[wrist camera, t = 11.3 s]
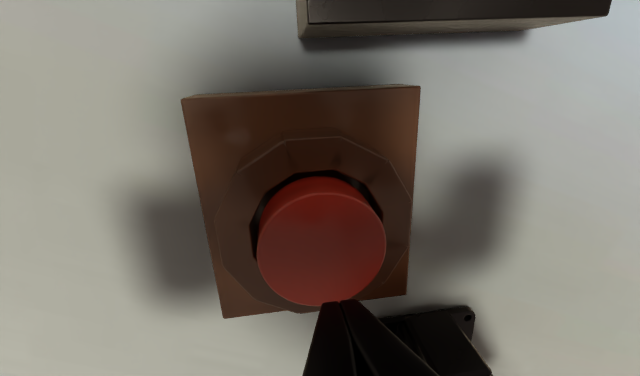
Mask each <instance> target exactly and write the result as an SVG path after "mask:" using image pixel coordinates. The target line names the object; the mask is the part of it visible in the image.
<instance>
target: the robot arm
mask: <svg viewBox="0 0 640 376" xmlns="http://www.w3.org/2000/svg"><path fill="white" fill-rule="evenodd" d="M474 322H475V313H474V312H473V311H472V310H471V308H469V307H460V308H453V309H446V310H438V311H431V312H424V313H417V314H410V315H403V316H395V317H388V318H381V319H377V318H376V317H375V316H374V315H373V314H372V313H371V312H370V311H369V310H368V309H367V308H365V307H364V306H363V305H362V304H361V303H360V302H359V301H358V300H357V299H346V300H341V301H340V302H338V301H331V302H324V303H322V305H321V308H320V312H319V316H318V320H317V323H316V327H315V331H314V334H313V338H312V342H311V346H310V349H309V353H308V357H307V361H306V364H305V368H304V372H303V376H493V375H492V371H491V369H490V368H489V366H488V365H487V364H486V362H485V361H484V359H483V358H482V357H481V355H480V354H479V353H478V351H477V350H476V348H475V347H474V346H473V344H472V343H471V340H472V334H473V328H474Z"/></svg>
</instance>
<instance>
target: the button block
mask: <svg viewBox="0 0 640 376" xmlns="http://www.w3.org/2000/svg"><path fill="white" fill-rule="evenodd" d="M420 89H421V88H420V86H415V85H404V84H390V85H370V86H351V87H332V88H313V89H293V90H274V91H255V92H236V93H217V94H197V95H193V96H189V97H186V98H182V99H181V105H182V110H183V115H184V120H185V125H186V130H187V135H188V140H189V146H190V151H191V156H192V161H193V166H194V171H195V176H196V181H197V187H198V192H199V197H200V202H201V207H202V212H203V217H204V223H205V228H206V233H207V238H208V243H209V248H210V253H211V258H212V264H213V269H214V274H215V279H216V284H217V289H218V294H219V299H220V305H221V310H222V315H223V318H224V319H226V318H234V317H241V316H249V315H256V314H264V313H272V312H279V311H287V310H288V311H291V312H294V313H300V314H302V313H309V312H317V311H320V308H321V306H307V305H301V304H297V303H294V302H291V301H289V300H287V299H285V298H283V297H281V296H280V295H278V294H277V293H276V292H275V291H274V290H272V289H271V288H270V286H269V285H268V284H267V283H266V281H265V280H264V278H263V276H262V275H261V272H260V270H259V267H258V262H257V242H258V233H259V223H260V219H261V215H262V213H263V210H264V208H265V207H266V205H267V203H268V202H269V200H270V199H271V198H272V197H273V196H274V195H275V194H276V193H277V192H278V191H279V190H280V189H282V188H283V187H284V186H286V185H288V184H290V183H291V182H294V181H296V180H299V179H302V178H306V177H312V176H327V177H333V178H337V179H340V180H343V181H345V182H347V183H349V184H351V185H352V186H353V187H355V188H356V189H357V190H358V191H359V192H360V193H361V194H362V195H363V196H364V198H365V199H366V200H367V202H368V203H369V204H370V206H371V207H372V209H373V210H374V211H375V213H376V214H377V216H378V217H379V219H380V221H381V222H382V225H383V227H384V230H385V235H386V253H385V257H384V261H383V263H382V266H381V268H380V270H379V272H378V274H377V275H376V276H375V278H374V279H373V280H372V281H371V283H370V284H369V285H368V286H367V287H365V288H364V289H363V290H362V291H361V292H359V293H358V294H356V295H355V296H353V297H351V298H349V299H357V300H358V301H363V300H370V299H378V298H385V297H393V296H401V295H406V292H407V277H408V263H409V248H410V234H411V219H412V205H413V190H414V176H415V162H416V147H417V133H418V118H419V104H420Z"/></svg>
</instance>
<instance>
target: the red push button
mask: <svg viewBox="0 0 640 376" xmlns="http://www.w3.org/2000/svg"><path fill="white" fill-rule="evenodd" d="M385 253H386V235H385V230H384V227H383V225H382V222H381V221H380V219H379V217H378V216H377V214H376V213H375V211H374V210H373V209H372V207H371V206H370V204H369V203H368V202H367V200H366V199H365V198H364V196H363V195H362V194H361V193H360V192H359V191H358V190H357V189H356V188H355V187H353V186H352V185H351V184H349V183H347V182H345V181H343V180H340V179H337V178H333V177H327V176H312V177H306V178H302V179H299V180H296V181H294V182H291V183H290V184H288V185H286V186H284V187H283V188H282V189H280V190H279V191H278V192H277V193H276V194H275V195H274V196H273V197H272V198H271V199H270V200H269V202H268V203H267V205H266V207H265V208H264V210H263V213H262V215H261V219H260V223H259V233H258V242H257V262H258V267H259V270H260V272H261V275H262V276H263V278H264V280H265V281H266V283H267V284H268V285H269V286H270V288H271V289H272V290H274V291H275V292H276V293H277V294H278V295H280V296H281V297H283V298H285V299H287V300H289V301H291V302H294V303H297V304H301V305H307V306H321V305H322V303H324V302H331V301H338V302H340V301H341V300H346V299H349V298H351V297H353V296H355V295H356V294H358V293H359V292H361V291H362V290H363V289H364V288H365V287H367V286H368V285H369V284H370V283H371V281H372V280H373V279H374V278H375V276H376V275H377V274H378V272H379V270H380V268H381V266H382V263H383V261H384V257H385Z"/></svg>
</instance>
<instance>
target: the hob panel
mask: <svg viewBox="0 0 640 376" xmlns="http://www.w3.org/2000/svg"><path fill="white" fill-rule="evenodd" d="M611 1H612V0H296V10H297V26H298V37H299V38H320V37H349V36H379V35H409V34H439V33H469V32H498V31H521V30H527V29H533V28H539V27H545V26H551V25H557V24H563V23H569V22H575V21H581V20H586V19H592V18H598V17H604V16H607V15H608V13H609V9H610V5H611Z"/></svg>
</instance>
